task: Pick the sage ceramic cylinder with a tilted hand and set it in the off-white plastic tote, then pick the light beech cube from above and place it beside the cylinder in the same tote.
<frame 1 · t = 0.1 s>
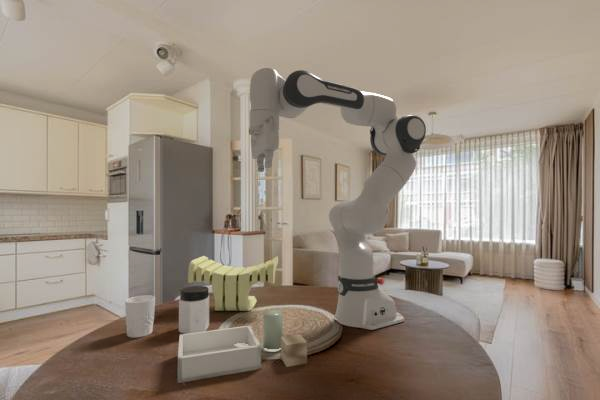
hand: (264, 169, 93), 48 cm above the table, tool pointing down, fingers open, 8 cm apart
slatted curved stool: (235, 307, 116), on the table
tote: (218, 361, 74), on the table
white cup: (140, 334, 91), on the table
beech cube: (293, 360, 75), on the table
jar: (194, 329, 94), on the table
sage cylinder: (272, 348, 81), on the table
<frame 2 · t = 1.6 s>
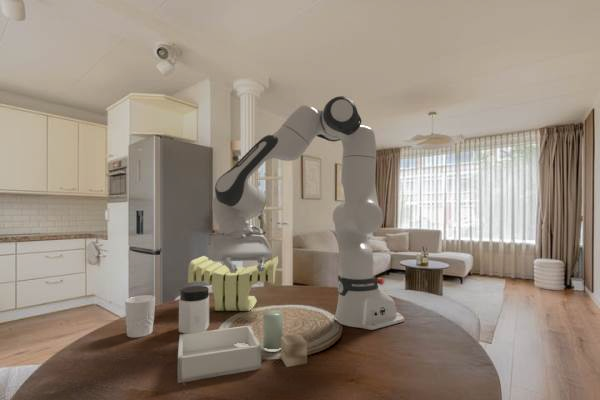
hand: (248, 271, 91), 18 cm above the table, tool tilted 45°, fingers open, 8 cm apart
nothing on the table moved.
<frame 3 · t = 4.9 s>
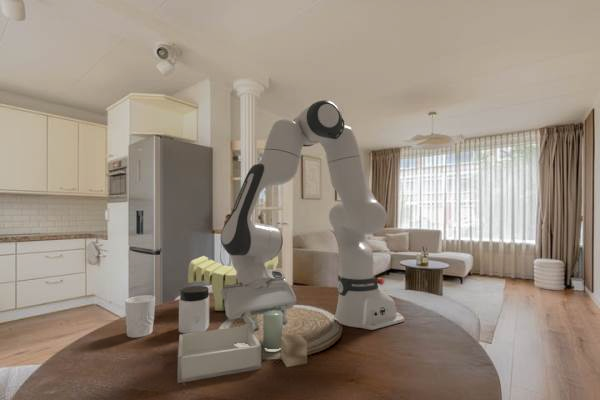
hand: (270, 327, 81), 5 cm above the table, tool tilted 45°, fingers open, 7 cm apart
nothing on the table moved.
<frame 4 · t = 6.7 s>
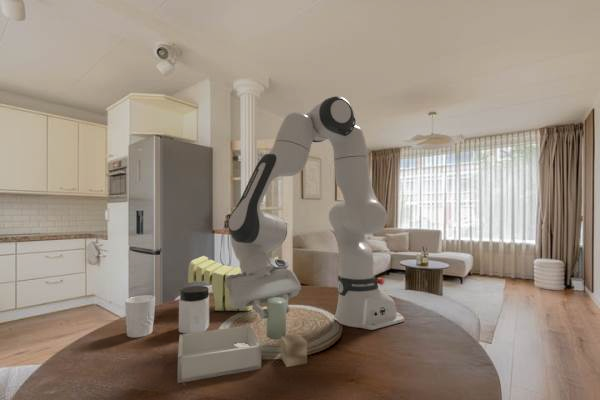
hand: (276, 314, 81), 9 cm above the table, tool tilted 45°, fingers closed on sage cylinder, 5 cm apart
sage cylinder: (275, 334, 81), point 3 cm above the table, tilted 7°, touching gripper
everything else where it was.
when the fingers open (8 cm above the table, at t = 10.4 s): sage cylinder drops 1 cm, resting on tote.
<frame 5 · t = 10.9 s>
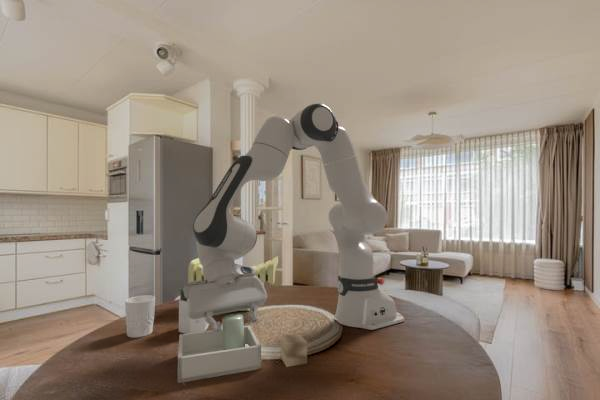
hand: (236, 326, 75), 8 cm above the table, tool tilted 45°, fingers open, 8 cm apart
sage cylinder: (235, 354, 75), point 1 cm above the table, touching tote
everything else where it was.
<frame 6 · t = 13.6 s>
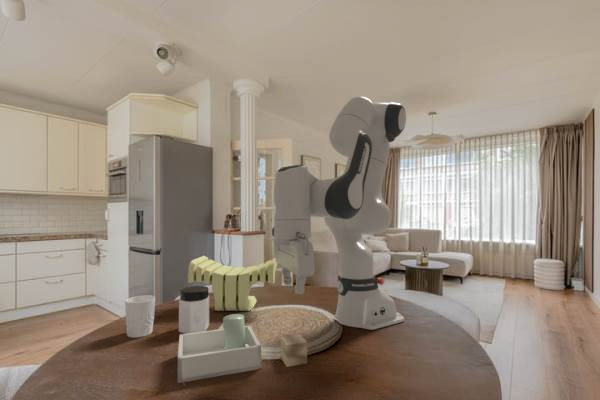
hand: (293, 288, 75), 17 cm above the table, tool pointing down, fingers open, 8 cm apart
nothing on the table moved.
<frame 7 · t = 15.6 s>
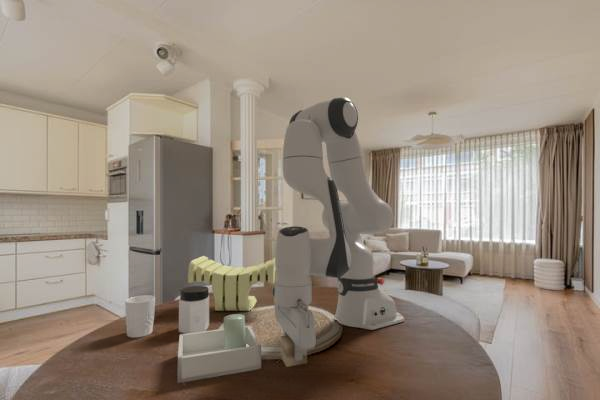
hand: (293, 353, 75), 2 cm above the table, tool pointing down, fingers closed on beech cube, 5 cm apart
beech cube: (293, 360, 75), on the table, touching gripper
everything else where it was.
when the fingers open (5 cm above the table, at t = 21.7 s): beech cube drops 2 cm, resting on tote.
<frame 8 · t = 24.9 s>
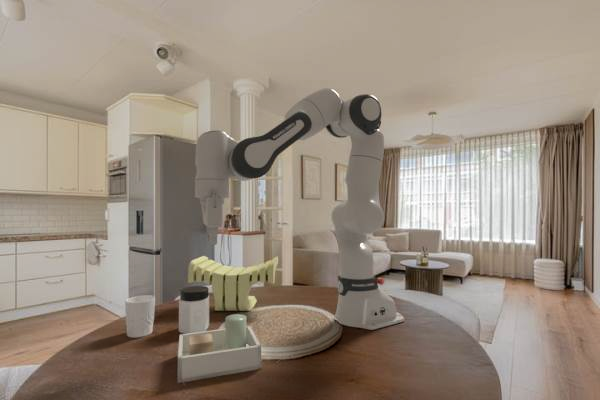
hand: (211, 242, 84), 27 cm above the table, tool pointing down, fingers open, 8 cm apart
beech cube: (200, 360, 73), point 1 cm above the table, touching tote
everything else where it was.
at the end: sage cylinder inside the target area on the tote (4.0 cm from its centre), point 0.9 cm above the tote's base; beech cube inside the target area on the tote (4.0 cm from its centre), point 0.8 cm above the tote's base; the gripper is holding nothing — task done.
